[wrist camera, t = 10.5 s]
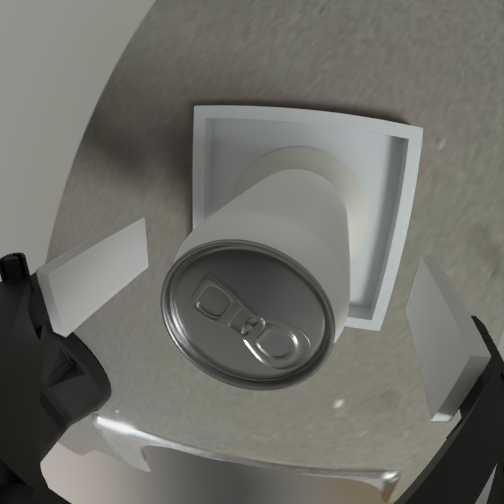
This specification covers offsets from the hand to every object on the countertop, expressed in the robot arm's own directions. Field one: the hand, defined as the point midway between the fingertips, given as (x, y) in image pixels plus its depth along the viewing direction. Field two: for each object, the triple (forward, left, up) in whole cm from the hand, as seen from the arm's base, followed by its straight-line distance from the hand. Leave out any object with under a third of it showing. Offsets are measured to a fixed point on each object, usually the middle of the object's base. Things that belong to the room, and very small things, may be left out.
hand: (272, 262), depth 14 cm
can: (0, 0, -7) cm, 7 cm away
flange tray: (0, 0, -8) cm, 8 cm away
